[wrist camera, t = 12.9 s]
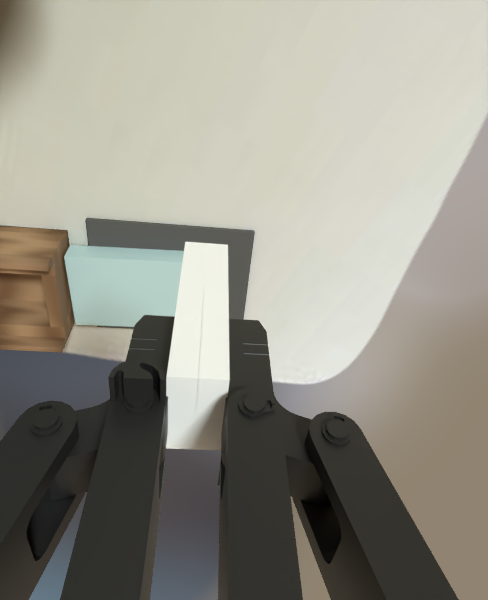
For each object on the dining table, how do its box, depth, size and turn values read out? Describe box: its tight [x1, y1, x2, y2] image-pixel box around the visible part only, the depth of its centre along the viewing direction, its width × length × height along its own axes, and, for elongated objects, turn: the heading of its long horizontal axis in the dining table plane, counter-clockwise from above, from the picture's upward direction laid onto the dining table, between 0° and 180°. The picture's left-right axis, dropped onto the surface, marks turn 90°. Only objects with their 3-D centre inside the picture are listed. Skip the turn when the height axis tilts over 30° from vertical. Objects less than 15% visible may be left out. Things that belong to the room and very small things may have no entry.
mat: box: [86, 218, 255, 329], centre depth 48 cm, size 16×13×1 cm
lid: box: [64, 245, 184, 327], centre depth 47 cm, size 12×8×2 cm
